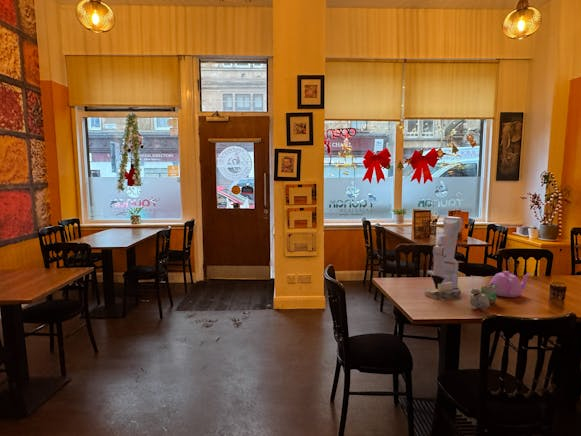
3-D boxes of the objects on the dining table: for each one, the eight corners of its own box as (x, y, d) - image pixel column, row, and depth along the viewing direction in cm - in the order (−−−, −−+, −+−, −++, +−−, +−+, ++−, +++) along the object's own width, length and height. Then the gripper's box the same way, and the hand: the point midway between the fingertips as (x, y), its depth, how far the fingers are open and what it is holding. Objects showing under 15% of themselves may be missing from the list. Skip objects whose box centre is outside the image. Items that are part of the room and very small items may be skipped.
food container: (491, 307, 201) (493, 289, 200) (479, 304, 206) (481, 286, 205) (501, 303, 209) (503, 285, 208) (490, 300, 214) (491, 282, 212)
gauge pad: (449, 293, 223) (450, 281, 222) (451, 293, 221) (452, 282, 221) (432, 296, 216) (432, 284, 216) (434, 297, 215) (435, 285, 214)
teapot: (537, 302, 211) (539, 277, 210) (494, 299, 216) (496, 275, 214) (522, 290, 233) (523, 268, 231) (483, 288, 237) (485, 266, 235)
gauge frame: (441, 290, 231) (441, 284, 230) (461, 297, 218) (461, 290, 217) (422, 293, 223) (422, 287, 223) (442, 301, 211) (442, 294, 210)
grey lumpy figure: (492, 314, 190) (493, 290, 191) (471, 312, 192) (472, 288, 193) (487, 311, 200) (488, 288, 200) (467, 309, 202) (468, 286, 203)
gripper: (424, 264, 227) (423, 286, 229) (444, 269, 214) (442, 293, 216) (432, 263, 230) (431, 284, 232) (452, 268, 218) (451, 291, 219)
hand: (437, 288), depth 224 cm, fingers closed
